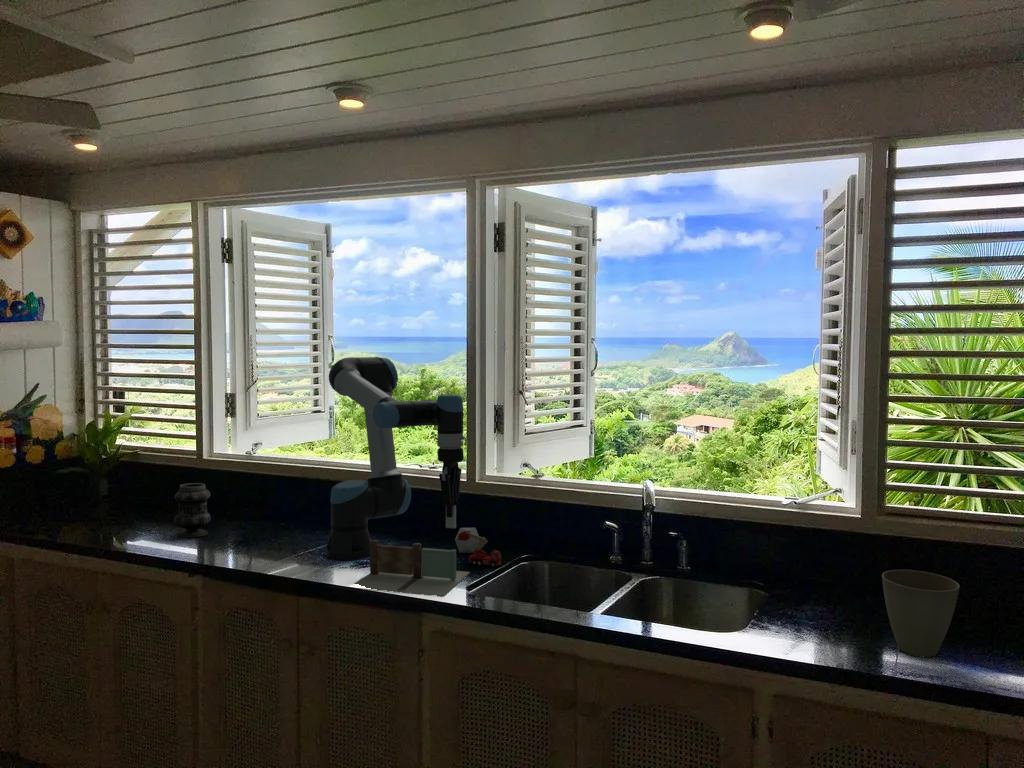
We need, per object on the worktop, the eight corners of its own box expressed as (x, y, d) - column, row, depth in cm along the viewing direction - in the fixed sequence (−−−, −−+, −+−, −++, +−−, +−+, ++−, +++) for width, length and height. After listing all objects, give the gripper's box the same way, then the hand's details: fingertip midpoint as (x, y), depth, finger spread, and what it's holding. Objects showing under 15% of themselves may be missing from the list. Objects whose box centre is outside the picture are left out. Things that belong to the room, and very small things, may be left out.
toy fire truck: (498, 567, 223) (499, 536, 223) (457, 563, 228) (457, 532, 227) (502, 564, 226) (502, 533, 226) (461, 560, 231) (461, 530, 231)
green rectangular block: (421, 577, 211) (421, 548, 210) (423, 575, 213) (423, 547, 212) (454, 580, 208) (454, 551, 208) (456, 578, 210) (456, 549, 210)
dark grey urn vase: (218, 533, 264) (217, 483, 263) (187, 540, 254) (187, 489, 253) (197, 529, 271) (196, 480, 270) (167, 535, 261) (166, 485, 260)
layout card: (349, 587, 203) (349, 586, 203) (383, 565, 225) (383, 564, 225) (443, 596, 196) (443, 595, 196) (469, 573, 217) (469, 571, 217)
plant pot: (884, 659, 157) (886, 585, 156) (876, 634, 171) (878, 566, 170) (964, 670, 152) (966, 593, 151) (950, 643, 165) (952, 573, 165)
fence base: (368, 575, 215) (368, 541, 214) (372, 573, 217) (372, 539, 217) (419, 579, 211) (419, 545, 210) (422, 577, 213) (422, 543, 213)
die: (470, 559, 235) (486, 533, 237) (447, 544, 236) (464, 519, 239) (471, 561, 242) (486, 536, 245) (449, 547, 244) (465, 522, 246)
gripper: (455, 450, 207) (455, 533, 208) (469, 445, 220) (470, 523, 220) (430, 449, 209) (430, 531, 210) (446, 444, 222) (446, 522, 222)
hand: (451, 527), depth 215 cm, fingers closed
